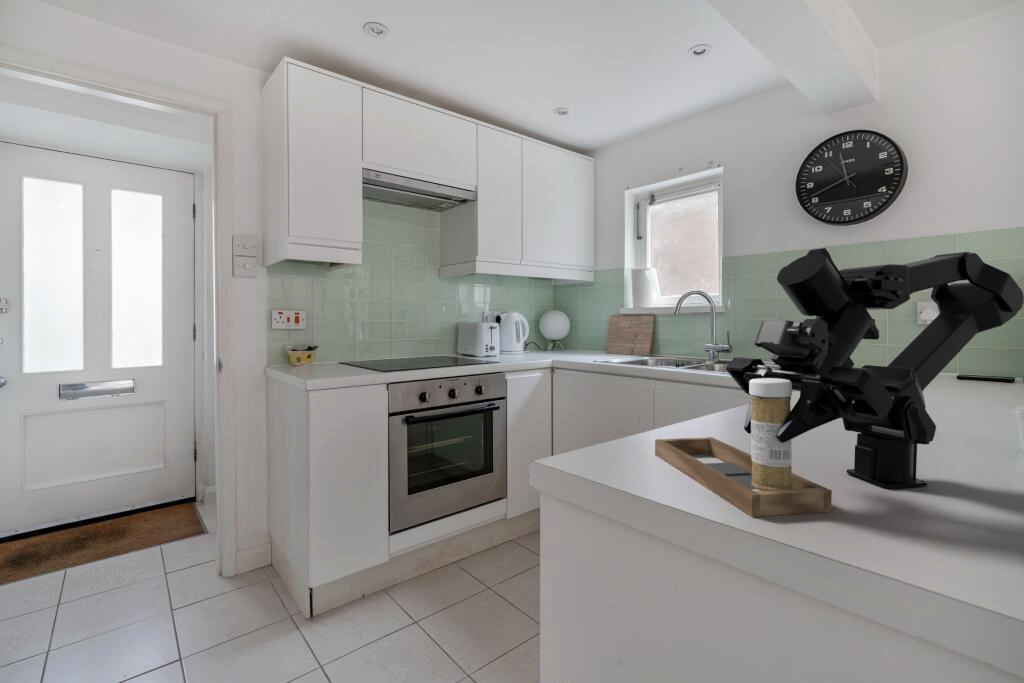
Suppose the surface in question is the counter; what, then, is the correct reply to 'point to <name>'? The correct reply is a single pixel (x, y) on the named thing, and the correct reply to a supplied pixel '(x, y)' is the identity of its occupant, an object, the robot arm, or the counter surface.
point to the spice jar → (770, 434)
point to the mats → (734, 473)
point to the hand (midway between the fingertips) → (762, 435)
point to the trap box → (751, 502)
